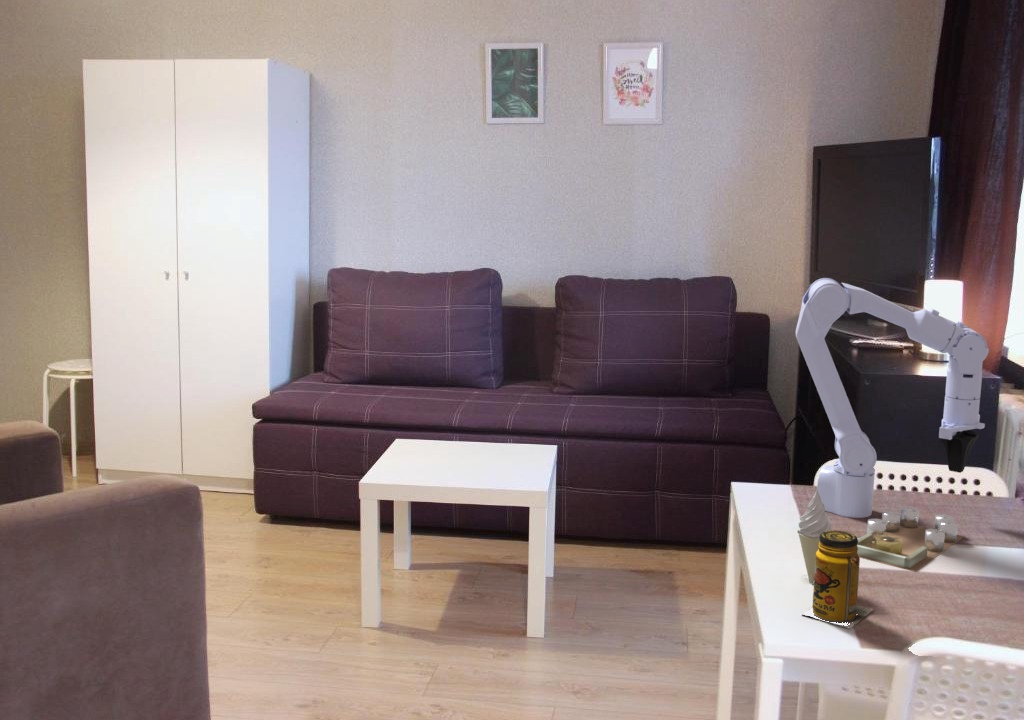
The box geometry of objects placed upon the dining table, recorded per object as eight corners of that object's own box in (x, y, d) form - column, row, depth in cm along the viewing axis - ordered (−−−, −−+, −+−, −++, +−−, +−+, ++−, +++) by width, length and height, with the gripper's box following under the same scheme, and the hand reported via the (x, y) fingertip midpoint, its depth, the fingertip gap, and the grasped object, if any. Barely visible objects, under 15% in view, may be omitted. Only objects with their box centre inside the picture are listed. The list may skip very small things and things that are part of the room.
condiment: (800, 615, 153) (805, 536, 150) (825, 598, 159) (830, 521, 157) (849, 630, 148) (855, 548, 146) (873, 611, 154) (879, 532, 152)
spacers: (863, 538, 181) (864, 521, 180) (894, 519, 191) (896, 503, 190) (936, 556, 173) (937, 538, 172) (964, 535, 183) (966, 519, 182)
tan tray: (839, 559, 175) (840, 543, 174) (893, 526, 191) (894, 511, 190) (914, 578, 166) (915, 562, 166) (964, 542, 183) (965, 527, 182)
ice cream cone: (828, 579, 166) (835, 486, 163) (827, 591, 161) (833, 495, 159) (795, 574, 168) (801, 483, 165) (793, 586, 163) (798, 492, 160)
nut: (876, 557, 172) (877, 542, 171) (873, 548, 176) (874, 533, 176) (902, 560, 171) (903, 544, 171) (898, 550, 176) (899, 535, 175)
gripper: (971, 406, 180) (964, 484, 182) (999, 393, 191) (992, 466, 193) (929, 400, 185) (923, 476, 187) (959, 388, 195) (953, 459, 198)
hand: (956, 471), depth 190 cm, fingers closed
